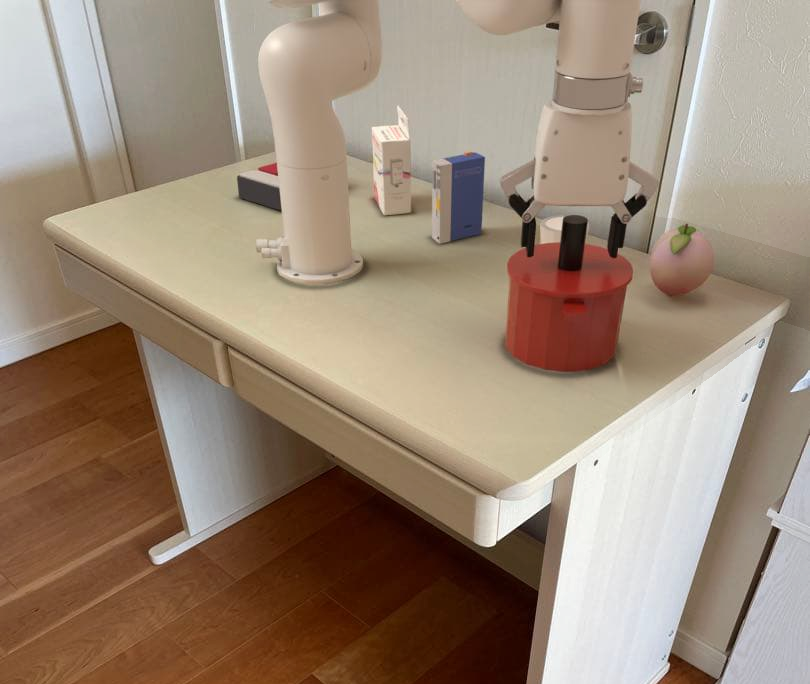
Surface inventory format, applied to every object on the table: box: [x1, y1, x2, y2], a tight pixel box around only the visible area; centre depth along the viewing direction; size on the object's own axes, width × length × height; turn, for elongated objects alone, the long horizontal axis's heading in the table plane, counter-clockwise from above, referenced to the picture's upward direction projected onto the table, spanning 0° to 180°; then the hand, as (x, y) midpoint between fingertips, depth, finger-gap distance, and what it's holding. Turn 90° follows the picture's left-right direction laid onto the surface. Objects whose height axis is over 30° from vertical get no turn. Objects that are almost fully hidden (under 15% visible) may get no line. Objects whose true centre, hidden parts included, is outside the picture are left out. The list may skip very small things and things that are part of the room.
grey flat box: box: [236, 162, 282, 212], centre depth 149 cm, size 11×4×15 cm
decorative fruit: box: [649, 223, 715, 298], centre depth 115 cm, size 9×8×10 cm
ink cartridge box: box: [371, 105, 412, 216], centre depth 141 cm, size 9×5×15 cm, turn 13°
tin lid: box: [506, 214, 634, 298], centre depth 99 cm, size 15×15×7 cm
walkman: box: [431, 150, 486, 245], centre depth 131 cm, size 8×3×12 cm, turn 119°
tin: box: [504, 277, 628, 373], centre depth 104 cm, size 14×19×10 cm
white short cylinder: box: [539, 214, 591, 244], centre depth 122 cm, size 7×7×7 cm
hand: (570, 253), depth 99 cm, fingers open, 9 cm apart
